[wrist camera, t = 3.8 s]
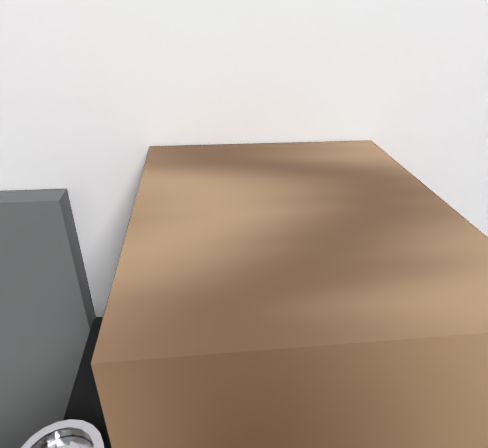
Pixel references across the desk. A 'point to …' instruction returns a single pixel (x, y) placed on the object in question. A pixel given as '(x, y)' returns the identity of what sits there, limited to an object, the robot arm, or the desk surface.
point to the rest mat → (39, 311)
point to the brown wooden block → (294, 305)
